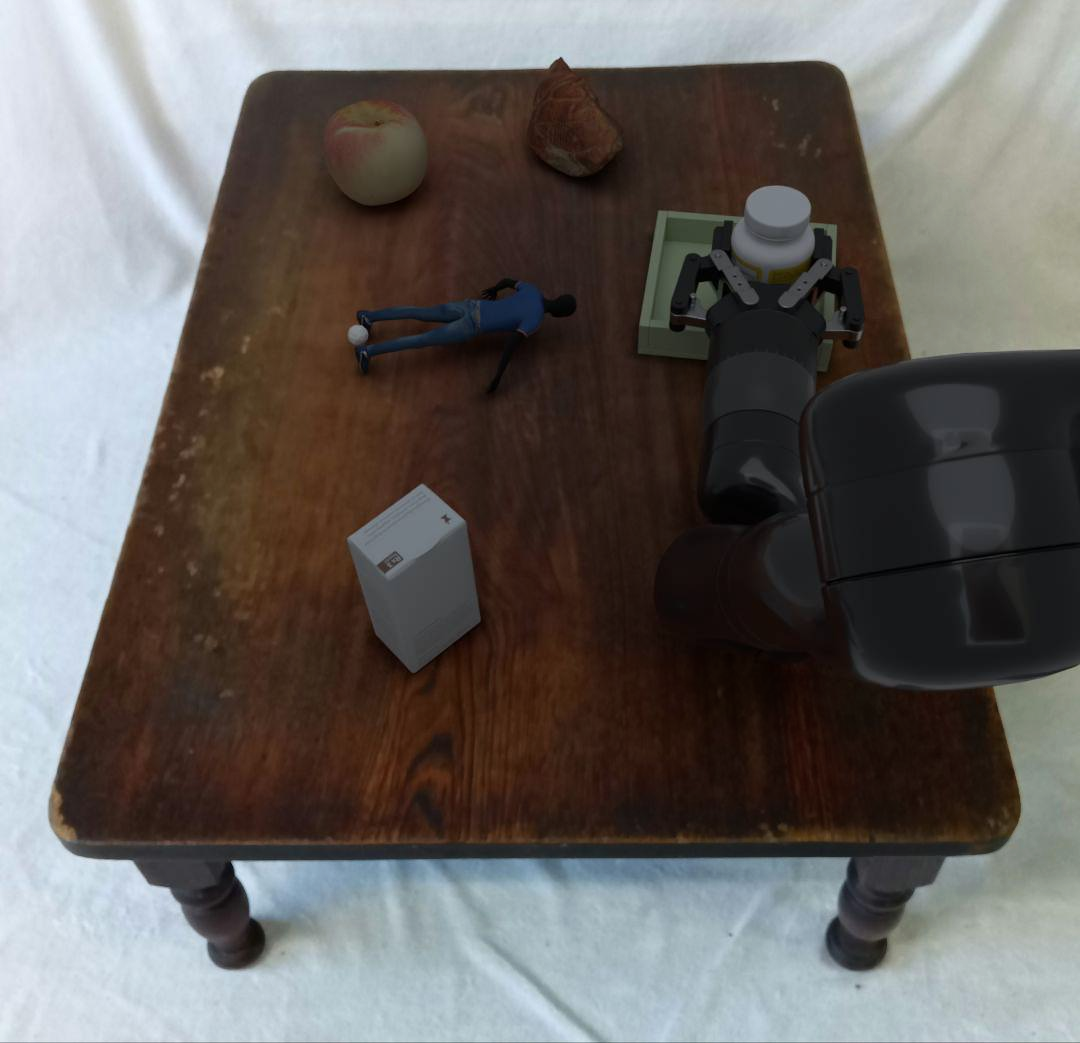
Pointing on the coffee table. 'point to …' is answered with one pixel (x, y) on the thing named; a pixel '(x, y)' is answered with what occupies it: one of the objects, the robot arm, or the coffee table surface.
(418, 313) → the person figurine
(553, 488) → the coffee table surface
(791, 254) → the pill bottle
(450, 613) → the cosmetic box
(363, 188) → the apple
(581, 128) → the fossil
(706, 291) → the tray
